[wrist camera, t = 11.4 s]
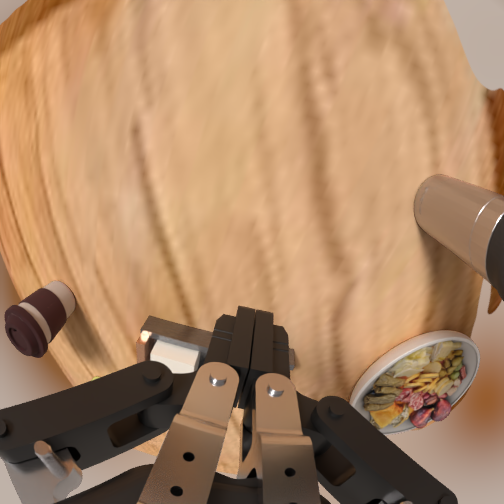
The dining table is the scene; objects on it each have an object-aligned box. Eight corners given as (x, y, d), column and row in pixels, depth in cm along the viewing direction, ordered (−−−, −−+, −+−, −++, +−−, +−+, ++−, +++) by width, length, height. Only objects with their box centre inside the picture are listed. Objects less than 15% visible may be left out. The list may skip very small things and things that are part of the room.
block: (202, 341, 45) (194, 365, 40) (198, 365, 48) (191, 389, 42) (162, 330, 45) (150, 353, 40) (161, 354, 48) (151, 377, 42)
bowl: (316, 395, 51) (319, 426, 44) (434, 293, 41) (456, 319, 34) (392, 429, 56) (399, 453, 49) (484, 356, 46) (499, 377, 39)
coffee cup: (81, 325, 48) (42, 372, 35) (46, 304, 48) (4, 345, 34) (82, 286, 45) (34, 333, 31) (44, 265, 44) (-6, 304, 30)
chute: (293, 349, 46) (295, 374, 41) (279, 382, 49) (279, 407, 44) (149, 315, 46) (136, 336, 40) (149, 352, 49) (138, 373, 44)
